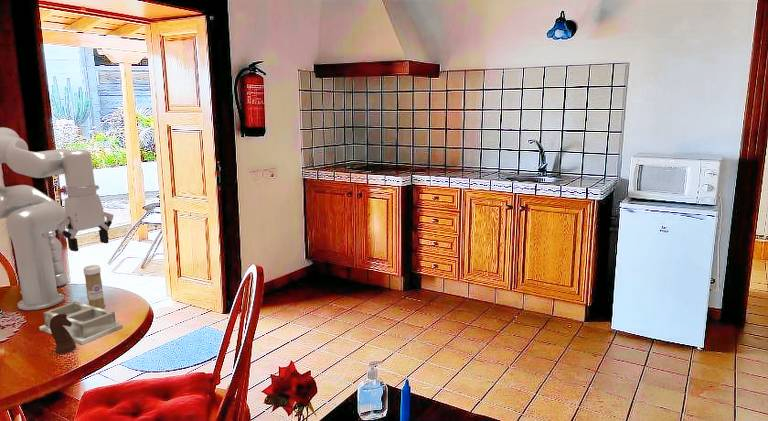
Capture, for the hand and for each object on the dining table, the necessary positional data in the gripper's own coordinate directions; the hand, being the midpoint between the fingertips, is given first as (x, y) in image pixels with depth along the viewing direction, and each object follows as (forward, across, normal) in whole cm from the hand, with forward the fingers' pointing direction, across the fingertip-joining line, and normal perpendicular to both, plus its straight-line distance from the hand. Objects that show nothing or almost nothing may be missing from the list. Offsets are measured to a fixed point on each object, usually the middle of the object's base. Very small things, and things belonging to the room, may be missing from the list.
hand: (89, 246), depth 165 cm
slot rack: (+20, +12, +10) cm, 26 cm away
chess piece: (+20, +22, +19) cm, 36 cm away
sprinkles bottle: (+20, 0, -1) cm, 20 cm away
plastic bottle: (+20, -6, -33) cm, 39 cm away
